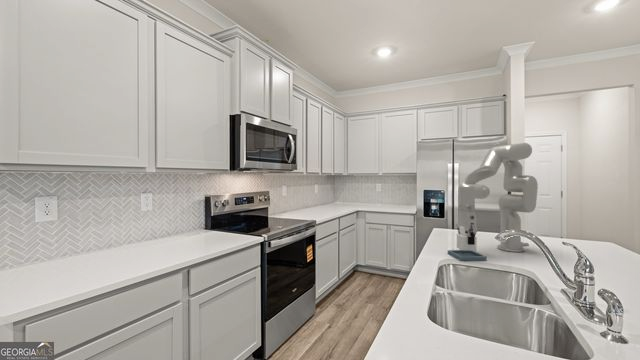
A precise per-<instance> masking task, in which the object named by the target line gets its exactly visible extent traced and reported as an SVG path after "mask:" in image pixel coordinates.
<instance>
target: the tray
mask: <svg viewBox="0 0 640 360" xmlns="http://www.w3.org/2000/svg"><path fill="white" fill-rule="evenodd" d="M447 255H449V256H451V257H452V256H453V257H452V258H454V257H455V259H457V260H459V261H460V262H480V261H481V262H484V261H485V262H486V261H488V260H487V256H486V255H484V254H482V253H479V252H477V251H462V250H461V249H449V250H447Z"/></svg>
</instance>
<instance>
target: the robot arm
mask: <svg viewBox="0 0 640 360" xmlns="http://www.w3.org/2000/svg"><path fill="white" fill-rule="evenodd" d="M532 154H533V148H532V146H531V144H530V143H527V142H522V143H521V142H520V143H513V144H512V143H511V144H504V145H498V146H494V147H490V149H489V150H488V151H487V153H486V155H485V156H484V158H483V160H482V162H481V164H480V166H479V167H478V168H476V169H475V170H473V171H472V172H470V173H469V174H467V176H466V177H465V178H464V179H463V181H462V183H461V184H460V185H458V191H457V193H458V199H457V201H458V202H457V203H458V204H457V205H458V209H457V210H458V211H457V212H458V213H457V222H456V230H457V234H460V226H462V227H464V228H465V231H467V232H468V235H469V237H468V244H469V245H474V244H475V237H476V235H477V233H478V229H477V228H478V227H477V226H478V225H477V223H478V222H477V216H476V210H475V208H476V205H475V204H476V202H475V201H476V200H478V199H479V200H483V199H487V198H488V197H489V196H490V192H491V190H490V188H489V187H488V186H487V185H485V184H477V183H479V182H481V181H483V180H486V179H488V178H491V177H494V176H495V175H496V174H497V173H498V170H499V169H500V166H501V165H502V164H503V168H504V173H503V185H502V186H503V189H504V190H505V191H507V192H509V193H510V194H509V193H507V194H506V193H505V194H502V195H501V196H499V198H498V201H497V203H498V207H499V213H500V233H501V232H502V231H505V230H509V229H517V230H521V229H522V225H521V224H522V218H521V217H520V214H519V213H525V214H526V213H532V212H534V211H535V210H536V208H537V207H536V205H537V199H538V188H539V187H538V185H539V184H538V181H537V178H536V177H534V176H533V175H523V170H524V169H523V164H522V163H521V162H520V161H521V160H525V159H527V158H528V159H529V158H530V157H531V155H532ZM512 193H513V194H512ZM514 193H522V194H514ZM475 199H476V200H475ZM521 231H522V230H521ZM470 232H472V233H471V234H470ZM524 247H530V244H529V243H528V242H522V236H521V237H520V236H513V237H510V238H508V239H507V241H506V242H501V241H500V244H498V245H497V247H496V248H497V249H498V250H501V251H505V252H512V253H523V252H525V248H524Z"/></svg>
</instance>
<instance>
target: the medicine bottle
mask: <svg viewBox="0 0 640 360" xmlns="http://www.w3.org/2000/svg"><path fill="white" fill-rule="evenodd" d="M471 233H472V232H470V234H471ZM468 237H469V235H468V232H467V231H465V228H464V227H462V226H460V234H458V233H456V248H457V249H458V250H462V251H475V252H477V246H478V245H477V243H478V242H477V239H478V237H477V236H475V244H474V245H469V244H468Z"/></svg>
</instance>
